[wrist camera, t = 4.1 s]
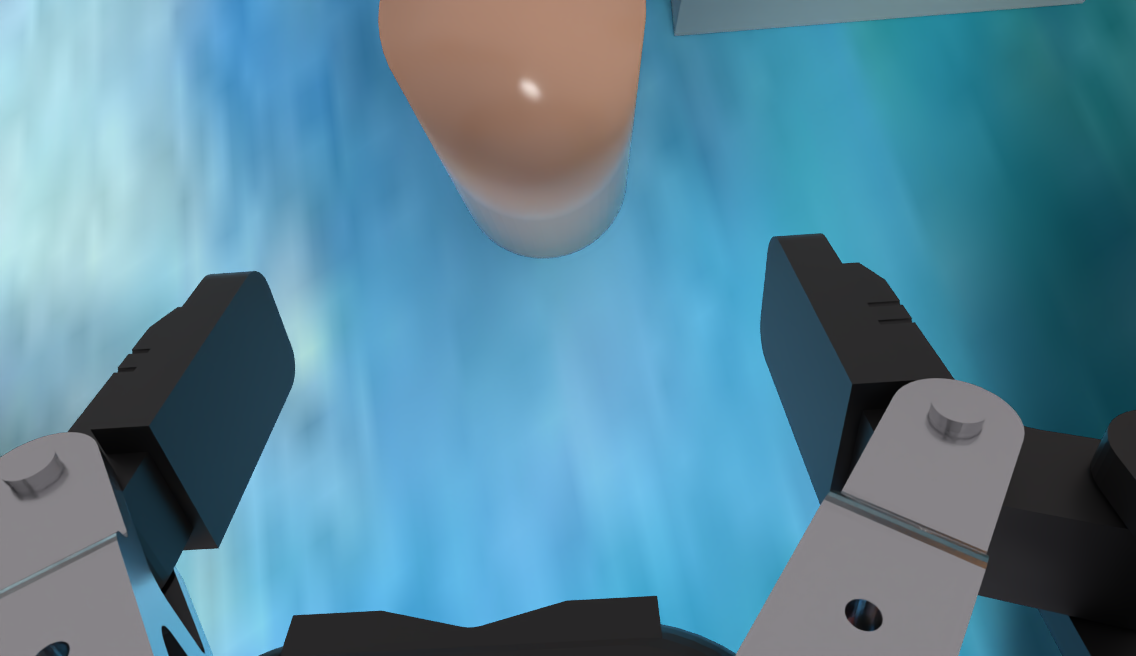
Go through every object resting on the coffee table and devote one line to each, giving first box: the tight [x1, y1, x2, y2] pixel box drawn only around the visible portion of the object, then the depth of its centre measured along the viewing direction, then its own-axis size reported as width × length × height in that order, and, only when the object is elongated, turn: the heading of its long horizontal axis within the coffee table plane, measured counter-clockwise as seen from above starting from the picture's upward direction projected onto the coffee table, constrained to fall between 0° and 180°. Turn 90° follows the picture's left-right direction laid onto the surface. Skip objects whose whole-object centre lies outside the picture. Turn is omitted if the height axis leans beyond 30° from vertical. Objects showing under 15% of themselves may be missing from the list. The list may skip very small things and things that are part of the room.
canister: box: [378, 0, 646, 258], centre depth 18 cm, size 5×5×9 cm
